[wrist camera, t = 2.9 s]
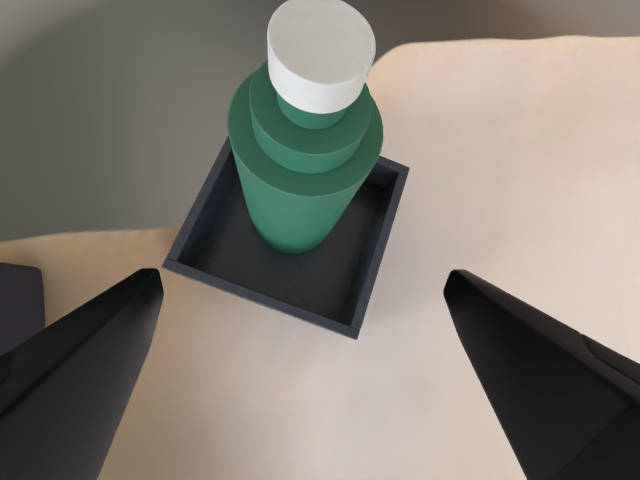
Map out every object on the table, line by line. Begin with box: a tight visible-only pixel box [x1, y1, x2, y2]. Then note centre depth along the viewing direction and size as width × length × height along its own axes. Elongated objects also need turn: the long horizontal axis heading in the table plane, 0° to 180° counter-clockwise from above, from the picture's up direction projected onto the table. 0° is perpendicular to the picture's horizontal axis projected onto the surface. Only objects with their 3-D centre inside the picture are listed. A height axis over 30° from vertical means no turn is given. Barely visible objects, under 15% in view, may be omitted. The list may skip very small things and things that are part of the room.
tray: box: [162, 136, 409, 340], centre depth 21 cm, size 12×12×4 cm
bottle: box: [227, 0, 383, 254], centre depth 15 cm, size 6×6×15 cm
